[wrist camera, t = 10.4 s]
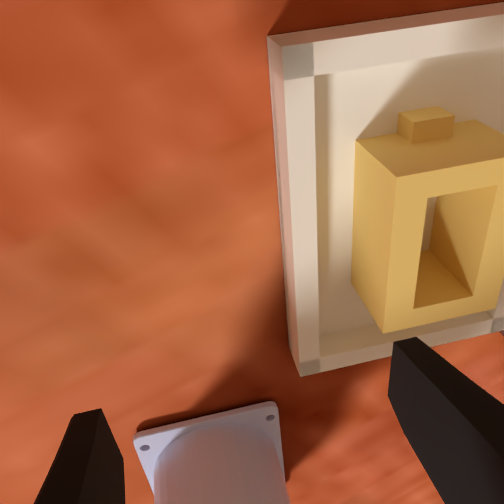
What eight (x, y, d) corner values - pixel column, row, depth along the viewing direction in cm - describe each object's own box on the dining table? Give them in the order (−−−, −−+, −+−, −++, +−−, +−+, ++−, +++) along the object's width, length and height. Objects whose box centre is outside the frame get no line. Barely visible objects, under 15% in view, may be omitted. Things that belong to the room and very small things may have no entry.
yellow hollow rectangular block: (355, 119, 18) (398, 154, 15) (478, 98, 18) (543, 128, 15) (350, 295, 22) (381, 347, 20) (447, 275, 23) (491, 322, 20)
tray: (484, 304, 26) (507, 329, 24) (289, 347, 24) (300, 377, 23) (559, -7, 17) (603, -1, 16) (266, 36, 16) (281, 46, 14)
